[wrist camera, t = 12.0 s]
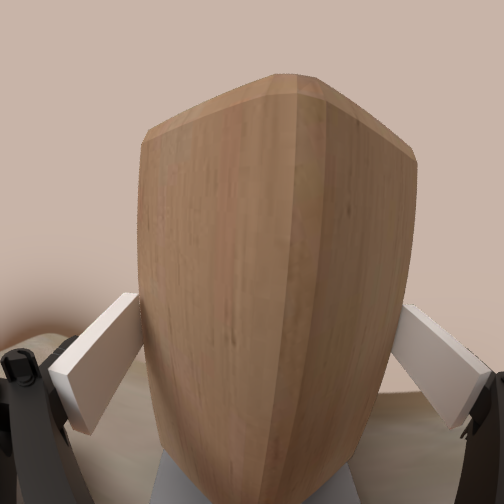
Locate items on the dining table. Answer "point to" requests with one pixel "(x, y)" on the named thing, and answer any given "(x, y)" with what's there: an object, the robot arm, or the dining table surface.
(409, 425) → the dining table surface
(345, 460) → the block
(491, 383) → the robot arm
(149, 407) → the dining table surface
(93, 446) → the dining table surface
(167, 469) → the stand
